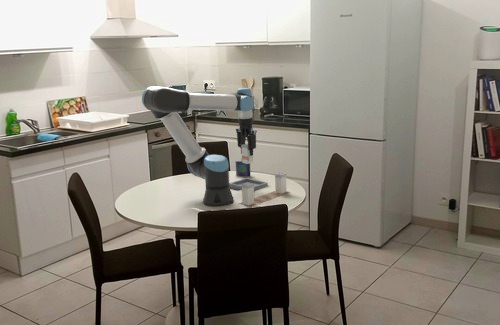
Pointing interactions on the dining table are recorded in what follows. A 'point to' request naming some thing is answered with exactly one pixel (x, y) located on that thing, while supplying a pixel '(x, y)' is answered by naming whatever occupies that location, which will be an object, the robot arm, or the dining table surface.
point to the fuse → (248, 193)
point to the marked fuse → (245, 153)
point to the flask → (242, 169)
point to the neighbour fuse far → (280, 182)
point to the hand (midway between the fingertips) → (247, 160)
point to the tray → (238, 184)
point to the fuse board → (265, 198)
